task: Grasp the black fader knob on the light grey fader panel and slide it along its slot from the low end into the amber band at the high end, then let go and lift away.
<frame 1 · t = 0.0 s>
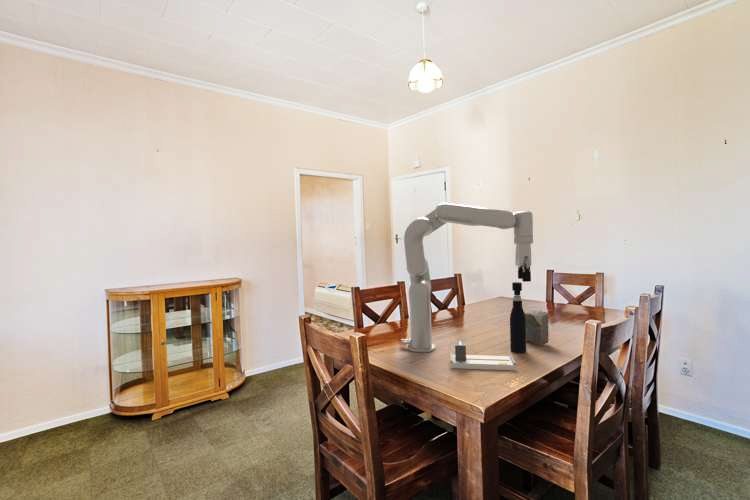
hand: (524, 280, 155), 31 cm above the table, tool pointing down, fingers open, 9 cm apart
geological specimen: (535, 343, 168), on the table
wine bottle: (518, 351, 157), on the table
fader knob: (460, 350, 144), point 5 cm above the table, slide at -8.0 cm
fader panel: (481, 364, 142), on the table
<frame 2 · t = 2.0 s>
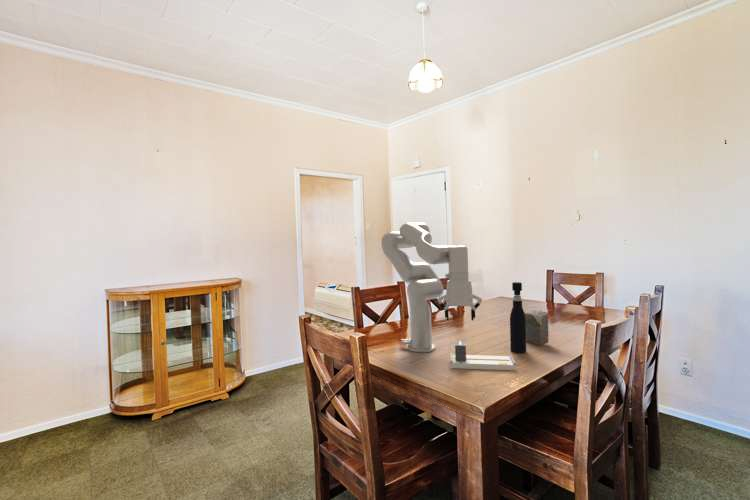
hand: (460, 319, 143), 18 cm above the table, tool pointing down, fingers open, 9 cm apart
nothing on the table moved.
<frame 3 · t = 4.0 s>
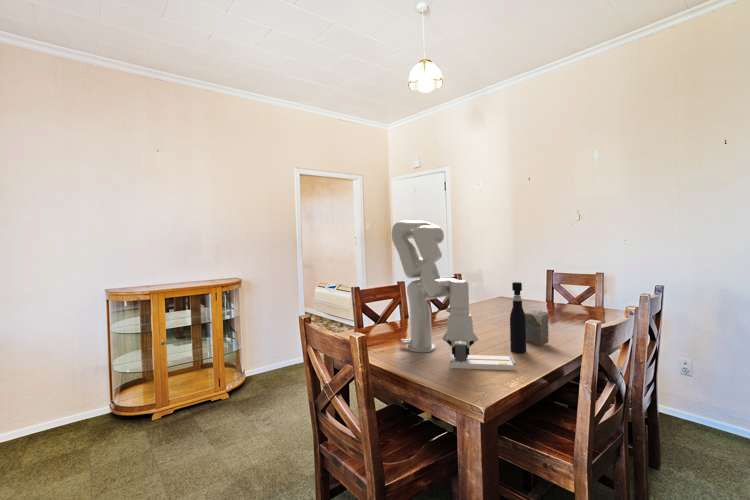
hand: (460, 356, 144), 3 cm above the table, tool pointing down, fingers closed on fader knob, 4 cm apart
fader knob: (460, 350, 144), point 5 cm above the table, slide at -8.0 cm, touching gripper
everything else where it was.
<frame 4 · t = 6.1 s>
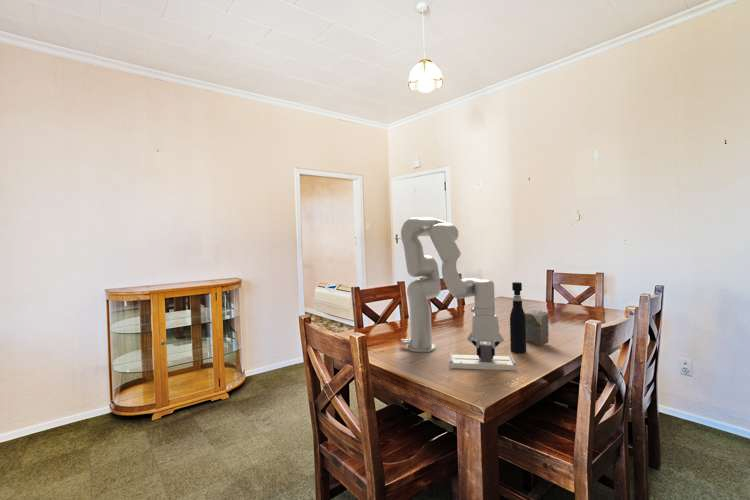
hand: (485, 356, 142), 3 cm above the table, tool pointing down, fingers closed on fader knob, 4 cm apart
fader knob: (485, 351, 142), point 5 cm above the table, slide at 1.7 cm, touching gripper
everything else where it was.
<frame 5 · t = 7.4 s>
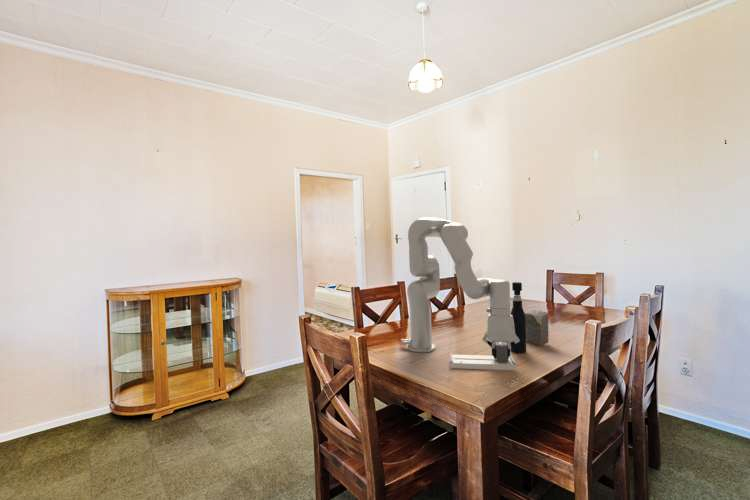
hand: (501, 357, 141), 3 cm above the table, tool pointing down, fingers closed on fader knob, 4 cm apart
fader knob: (500, 351, 141), point 5 cm above the table, slide at 7.4 cm, touching gripper
everything else where it was.
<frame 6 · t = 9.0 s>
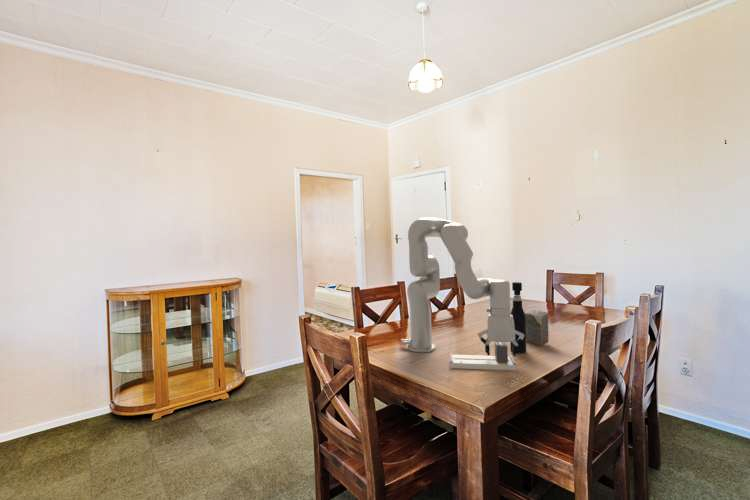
hand: (501, 354, 141), 4 cm above the table, tool pointing down, fingers open, 9 cm apart
fader knob: (501, 351, 141), point 5 cm above the table, slide at 7.5 cm
everything else where it was.
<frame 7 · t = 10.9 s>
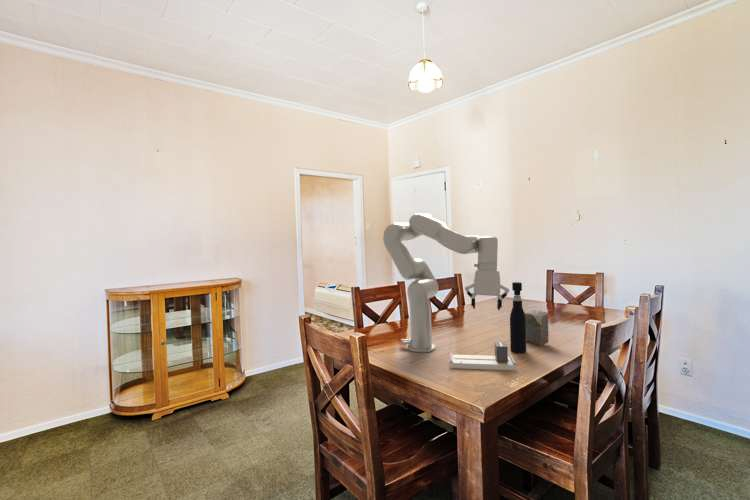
hand: (486, 308, 146), 21 cm above the table, tool pointing down, fingers open, 9 cm apart
nothing on the table moved.
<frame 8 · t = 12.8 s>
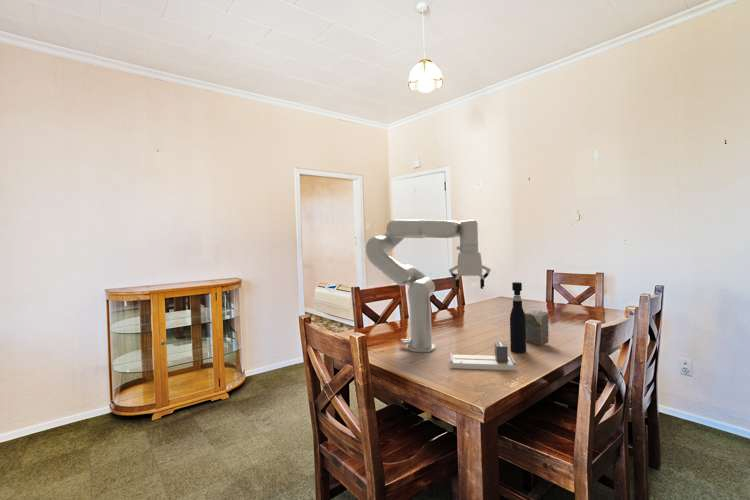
hand: (470, 288, 155), 28 cm above the table, tool pointing down, fingers open, 9 cm apart
nothing on the table moved.
at the end: fader knob slide at 7.5 cm; the gripper is holding nothing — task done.
